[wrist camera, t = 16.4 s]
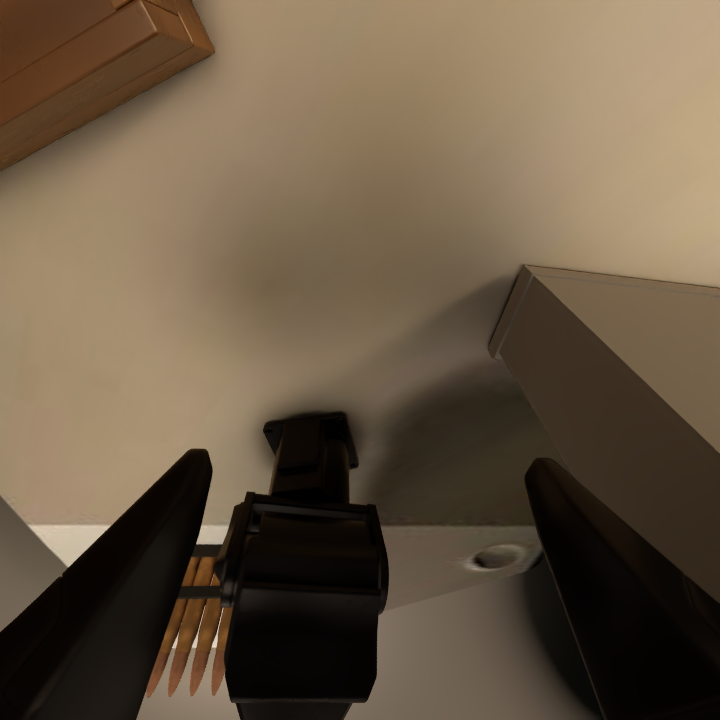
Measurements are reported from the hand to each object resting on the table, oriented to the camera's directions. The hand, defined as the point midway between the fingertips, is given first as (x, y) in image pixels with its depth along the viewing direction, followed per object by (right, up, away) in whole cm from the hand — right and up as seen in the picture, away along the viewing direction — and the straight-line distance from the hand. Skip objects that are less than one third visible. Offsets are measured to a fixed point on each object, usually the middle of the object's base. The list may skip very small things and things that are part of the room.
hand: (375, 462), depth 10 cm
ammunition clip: (-18, -18, +29) cm, 39 cm away
